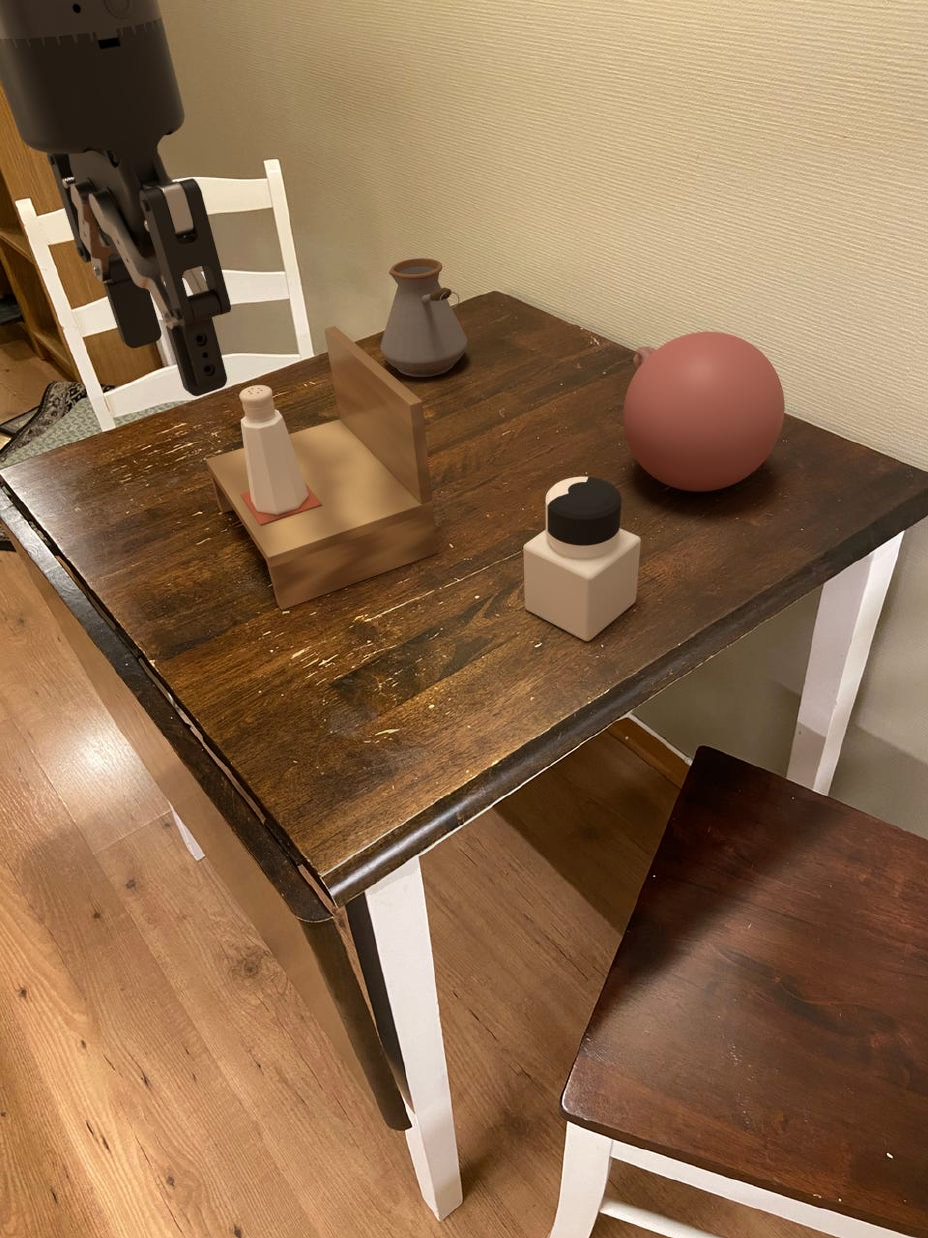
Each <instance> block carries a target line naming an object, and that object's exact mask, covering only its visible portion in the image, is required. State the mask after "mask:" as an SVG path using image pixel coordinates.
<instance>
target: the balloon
mask: <svg viewBox="0 0 928 1238" xmlns="http://www.w3.org/2000/svg"><path fill="white" fill-rule="evenodd" d="M635 352H636V354H634V357H633V359H632V363H633V366H634V368H635V370H636V371H635V373H634V375H633V376H632V378H631V380H630V383H629V384H628V387H627V390H626V394H625V398H624V402H623V410H622V424H623V431H624V435H625V439H626V442H627V445H628V448H629V449H630V452H631V453H632V455H633V457H634V458H635V460H636V461H637V462H638V464H639V465H640V466H641V467H642V469H644V470H645V471H646V473H647V474H649V475H650V476H651V477H653V478H654V479H656V480H657V481H659V482H660V483H662V484H663V485H666V486H667V487H670V488H671V487H672V488H674V489H678V490H681V491H686V492H695V493H696V492H697V493H700V492H701V493H702V492H703V493H704V492H712V491H717V490H721V489H724V488H728V487H731V486H732V485H735V484H737V483H739V482H741V481H743V480H744V479H746V478H747V477H748V476H750V475H751V474H752V473H754V472H755V471H756V470H757V469H758V468H759V467H760V466H761V465H763V463H764V462H765V461H766V460H767V459H768V457H769V456H770V454H771V452H772V451H773V450H774V448H775V446H776V444H777V443H778V440H779V437H780V435H781V432H782V429H783V424H784V419H785V410H786V409H785V407H786V406H785V405H786V404H785V403H786V402H785V394H784V389H783V385H782V383H781V379H780V377H779V374H778V373H777V371H776V368H775V367H774V366H773V364H772V362H771V361H770V360H769V358H768V357H767V356H766V355H765V354H764V353H763V352H762V351H761V350H760V349H759V348H757V347H756V346H755V345H753V344H752V343H750V342H749V341H747V340H745V339H744V338H741V337H739V336H737V335H734V334H729V333H725V332H721V331H697V332H696V331H695V332H690V333H687V334H684V335H681V336H678V337H675V338H673V339H671V340H669V341H667V342H666V343H663V344H662V345H661V346H660V347H658V348H657V349H656V348H654V347H651V346H649V345H646V346H640V347H638V348H636V350H635Z"/></svg>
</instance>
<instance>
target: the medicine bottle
mask: <svg viewBox="0 0 928 1238" xmlns="http://www.w3.org/2000/svg"><path fill="white" fill-rule="evenodd" d="M621 513H622V494H621V492H620V491H619V489H617V488H616V487H615V486H614V484H612V483H611V482H609V481H607V480H605V479H603V478H597V477H592V476H573V477H568V478H566V479H562V480H560V481H558V482H556V483H555V484H553V486H551V488H550V489H548V491H547V493H546V495H545V529H544V530H543V531H541V532H540V533H539V534H537V535H536V536H534V537H533V538H531V539H530V540H529V541H528V542H526V543H525V544H524V545H523V585H524V586H523V589H524V592H523V593H524V609H525V610H526V611H528V612H530V613H532V614H534V615H536V616H538V617H539V618H541V619H543V620H545V621H546V622H549V623H550V624H553V625H555V626H556V627H558V628H560V629H562V630H564V631H566V632H567V633H569V634H571V635H573V636H575V637H576V638H579V639H581V640H582V641H584V642H590V641H591V640H592V639H593V638H595V637H596V636H597V635H599V634H600V633H601V632H602V631H603V630H604V629H606V628H607V627H608V626H609V625H610V624H611V623H612V622H614V621H615V620H616V619H617V618H619V616H621V615H622V614H624V612H625V611H627V610H628V609H629V608H630V607H631V606H632V605H634V604H635V603H636V601H637V594H638V593H637V592H638V581H639V580H638V579H639V568H640V556H641V543H642V542H641V541H642V540H641V537H640V536H638V535H636V534H634V533H632V532H629V531H627V530H626V529H625V530H624V529H622V528H620V527H621Z"/></svg>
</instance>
